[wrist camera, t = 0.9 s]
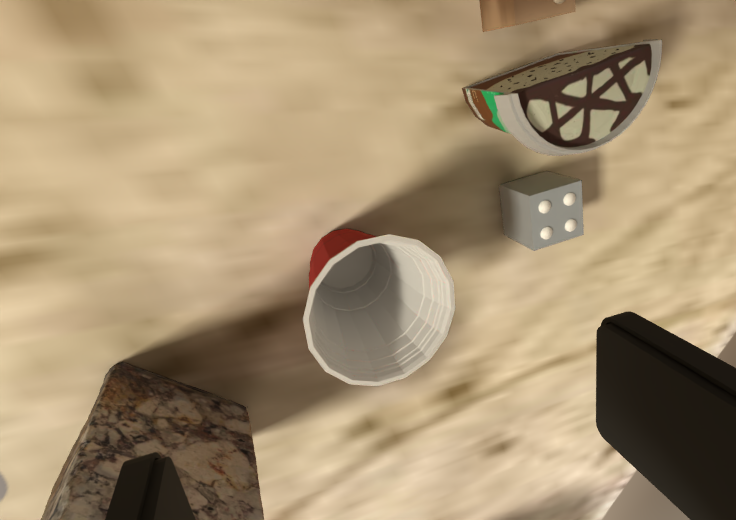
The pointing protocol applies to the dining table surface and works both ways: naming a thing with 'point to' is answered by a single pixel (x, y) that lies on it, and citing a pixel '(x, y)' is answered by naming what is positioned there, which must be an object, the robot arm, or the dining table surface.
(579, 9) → the dining table surface
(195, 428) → the stone block
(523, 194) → the slate-grey block
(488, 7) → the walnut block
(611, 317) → the robot arm
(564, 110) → the food container
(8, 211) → the dining table surface
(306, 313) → the plastic cup
